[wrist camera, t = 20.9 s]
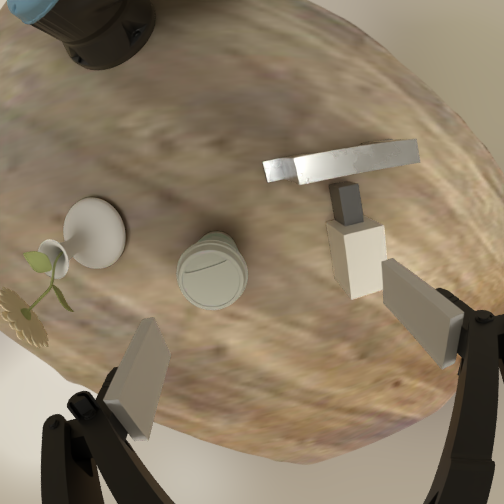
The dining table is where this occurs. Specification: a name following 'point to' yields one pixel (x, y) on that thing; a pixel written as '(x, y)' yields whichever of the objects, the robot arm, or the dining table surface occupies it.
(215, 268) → the coffee cup
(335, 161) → the bar
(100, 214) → the flower in vase
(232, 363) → the dining table surface
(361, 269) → the plug
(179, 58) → the dining table surface
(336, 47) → the dining table surface
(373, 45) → the dining table surface
